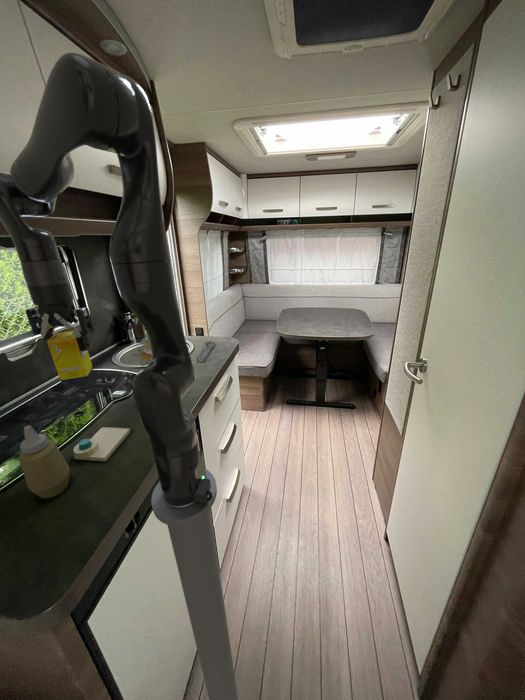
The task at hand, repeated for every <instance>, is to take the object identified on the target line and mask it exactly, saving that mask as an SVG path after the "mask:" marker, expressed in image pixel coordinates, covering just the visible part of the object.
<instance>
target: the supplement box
mask: <svg viewBox="0 0 525 700" xmlns="http://www.w3.org/2000/svg"><path fill="white" fill-rule="evenodd" d="M53 334H54V335H53V336H52V337H51V338H50V339H49V340H48V341H47V344H48V347H49V348H48V347H47V348H48V350H49V349H50V350H49V352H50V354H51V358H52V360H53V364H54V366H55V369H56V371H57V374H58V377H59V380H60V383H62V384H63V383H64V384H65V383H70V382H78V381H82V380H83V381H84V380H88V379H90V376H91V374H92V372H93V370H94V367H93V363H92V361H91V357H90V353H89V349H88V350H86V351H84V352H82V351H80V348H79V345H78V342H77V339H76V337H77V336H76V335H75V334H74V333H73V332H72V331H64V332H63V331H62V332H57V333H53Z"/></svg>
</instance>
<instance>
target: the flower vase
mask: <svg viewBox="0 0 525 700" xmlns="http://www.w3.org/2000/svg"><path fill="white" fill-rule="evenodd" d="M145 336H146V338H142V339H141V342H140V345H143V346H144V347H142V348H140V347H138V348H137V351H138V352H136V353H132V357H133V358H135V359H140V361H139V364H140V366H142V367H146V366H147V363H148V365H149V364H150V363H151V362H153V355H152V349H151V344H150V340H149V336H148V333H147V331H146V332H145Z"/></svg>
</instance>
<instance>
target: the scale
mask: <svg viewBox="0 0 525 700" xmlns="http://www.w3.org/2000/svg"><path fill="white" fill-rule="evenodd" d="M130 433H131V428H125V427H109V426H107V427H105V426H102V427H101V428H100V429H98V431H97V432H96V433H95V434H94V435H92V437H91V438H88V439H89V440H90V442H91V447H90V448H88V449H85V450H81V449H80V447H79V442H78V443H77V444H76V445H75V446H74V447H73V454H74V455H73V458H74V460H81V461H94V462H96V461H97V462H107V461H108V459H109V458H111V456H112V454H113V453H114V452H115V451H116V450H117V449H118V447H120V445H121V444H122V443H123V441H124V440H125V439H126V438H127V437H128V435H129V434H130Z"/></svg>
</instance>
